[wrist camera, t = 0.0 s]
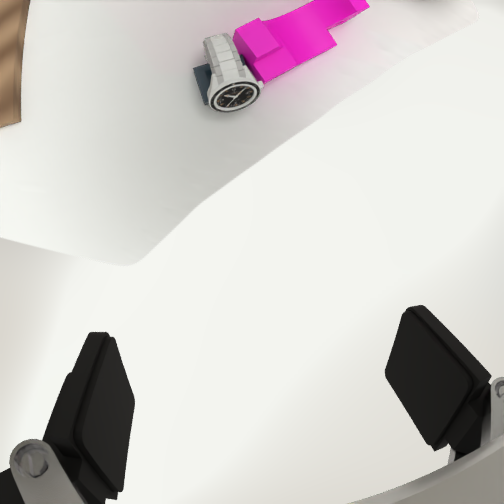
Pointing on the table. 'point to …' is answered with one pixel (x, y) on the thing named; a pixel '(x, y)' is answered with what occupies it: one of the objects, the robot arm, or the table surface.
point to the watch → (226, 76)
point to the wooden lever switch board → (11, 58)
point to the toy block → (292, 36)
